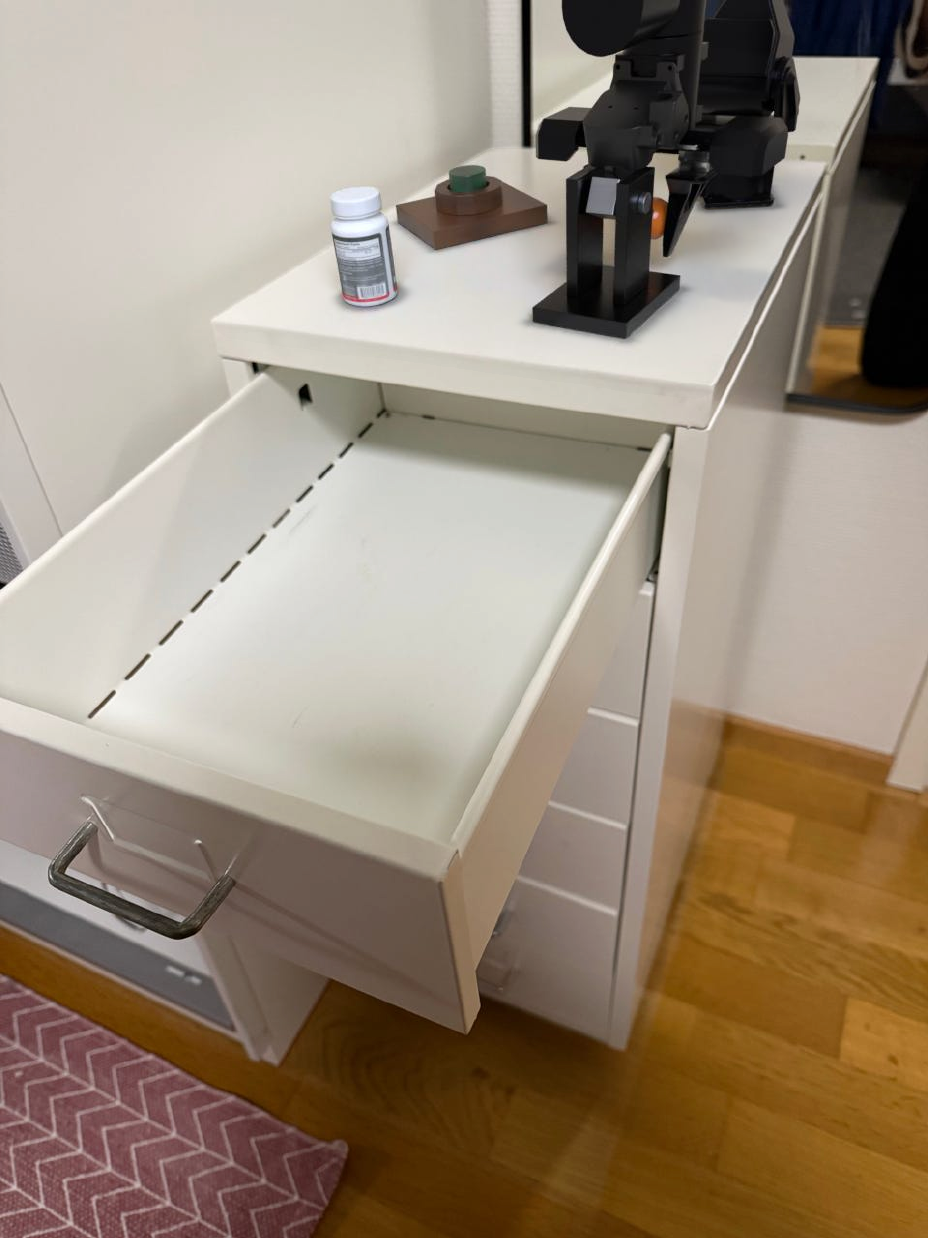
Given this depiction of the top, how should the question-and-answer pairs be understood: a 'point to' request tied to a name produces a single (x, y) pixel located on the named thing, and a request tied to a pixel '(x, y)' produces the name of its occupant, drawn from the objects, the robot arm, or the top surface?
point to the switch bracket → (606, 291)
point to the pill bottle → (363, 247)
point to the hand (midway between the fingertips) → (649, 253)
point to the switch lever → (605, 204)
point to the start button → (467, 178)
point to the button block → (470, 213)
